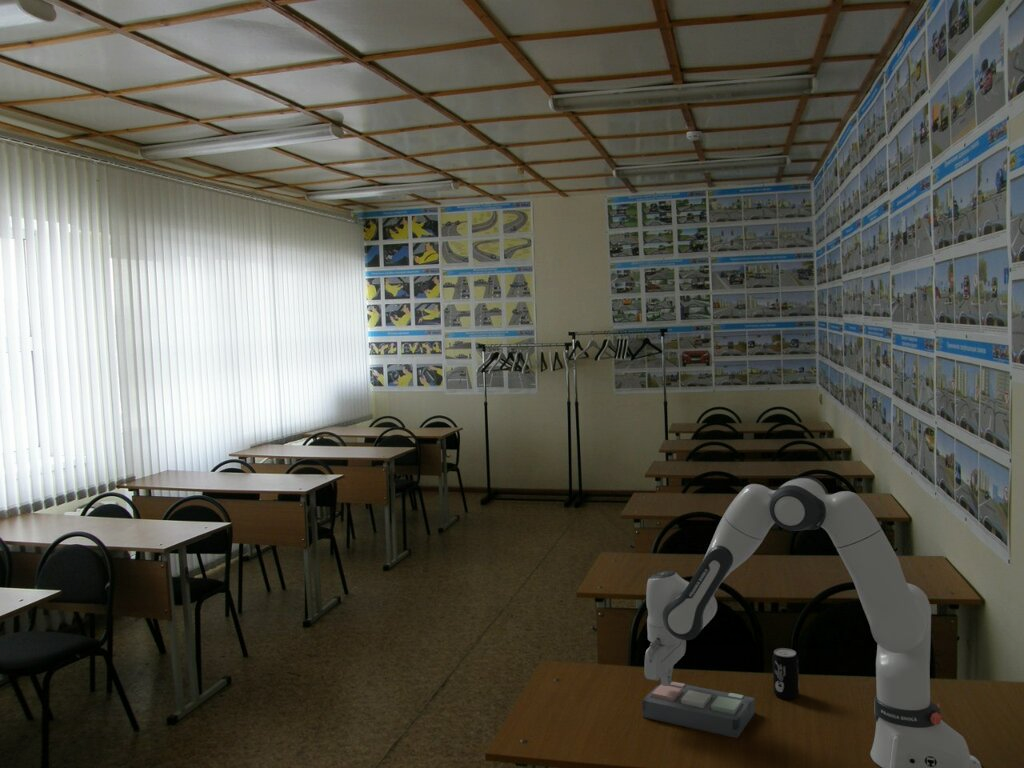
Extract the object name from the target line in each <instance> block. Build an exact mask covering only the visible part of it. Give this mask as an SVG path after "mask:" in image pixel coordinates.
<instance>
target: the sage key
mask: <svg viewBox="0 0 1024 768" xmlns="http://www.w3.org/2000/svg"><path fill="white" fill-rule="evenodd" d="M741 707H742V700H737V699H732V698H727V697H721V696H718V697H717V699H716V700H715V701H714V702H713V703H712V705H711V710H714V711H719V712H723V713H728V714H733V715H736V714H737V712H738V711H739V710H740V708H741Z"/></svg>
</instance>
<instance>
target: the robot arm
mask: <svg viewBox="0 0 1024 768" xmlns="http://www.w3.org/2000/svg"><path fill="white" fill-rule="evenodd" d="M774 525H777V526H779V527H780V528H782V529H783V530H787V531H793V532H797V531H806V530H809V531H811V530H819V529H820V528H822V529H823V530H824V531H826V533H827V534H828V536H829V538H830V539H831V541H832V544H833V545H834V547H835V548H836V552H837V553H838V554H839V557H840V558H841V560H842V562H843V564H844V566H845V568H846V570H847V572H848V573H849V576H850V577H851V580H852V581H853V584H854V586H855V589H856V591H857V592H856V593H857V595H858V598H859V600H860V603H861V606H862V609H863V611H864V614H865V616H866V619H867V621H868V624H869V627H870V632H871V635H872V638H873V639H874V641H875V642H876V644H877V646H876V648H877V649H876V657H875V675H876V676H875V678H876V679H875V680H876V681H875V683H876V694H875V696H874V701H873V705H874V707H873V709H874V718H875V722H876V723H875V731H874V732H875V733H874V737H873V738H874V739H873V743H872V746H871V747H872V748H871V750H870V757H871V759H872V761H873V762H874V763H875V764H876V765H878V766H879V767H881V768H982V764H981V763H980V760H979V759H977V757H975V756H974V755H971V754H970V749H969V745H968V743H967V741H966V739H965V738H964V737H963V735H961V734H960V733H959V732H957V731H956V730H955V729H954V728H952V727H951V726H950V725H948V724H947V723H946V722H944V721H943V720H942V715H941V713H942V711H941V705H940V703H939V702H937V704H935V703H934V702H933V701H931V684H930V683H931V681H930V679H931V678H930V677H931V676H930V674H931V673H930V669H931V668H930V666H931V665H930V663H931V643H932V642H931V639H932V637H931V631H932V629H931V628H932V609H931V604H930V601H929V599H928V595H927V594H926V593H925V592H924V591H923V590H922V588H920V587H918V586H917V585H915V584H912V583H908V582H907V581H906V577H905V575H904V572H903V569H902V567H901V566H902V565H901V563H900V560H899V557H898V556H897V553H896V552H895V551H894V548H893V547H892V545H891V542H890V541H889V540H888V537H887V536H886V534H885V532H884V530H883V529H882V527H881V525H880V523H879V521H878V519H877V518H876V517H875V514H873V512H872V511H871V509H870V508H869V507H868V505H867V504H866V502H865V501H863V499H862V498H861V497H860V496H859V494H857V493H855V492H852V491H847V490H846V491H843V490H842V491H838V492H836V493H833V494H829V493H828V490H827V488H826V487H825V485H824V484H823V483H822V482H821V481H820V480H818V479H816V478H814V477H811V476H798V477H795V478H793V479H790V480H788V481H786V482H785V483H783V484H781V485H779V486H778V487H777V488H776V489H774V490H773V489H770V488H769V487H767V486H766V485H762V484H758V483H750V484H748V485H746V486H744V487H743V488H742V490H741V491H739V493H737V495H736V496H735V498H734V499H733V500H732V502H731V503H730V504H729V506H728V507H727V509H726V510H725V512H724V514H723V516H722V518H721V519H720V521H719V523H718V524H717V527H716V530H714V531H715V532H714V534H713V536H712V539H711V541H710V544H709V546H708V548H707V551H706V553H705V555H704V558H703V559H702V562H701V563H700V565H699V566H698V568H697V570H696V572H694V575H693V577H692V578H691V580H690V581H688V580H685V579H684V578H683V577H681V576H680V575H679V574H678V573H677V572H675V571H673V570H662V571H659V572H656V573H653V574H652V575H650V577H649V578H648V579H647V583H646V595H645V596H646V599H645V600H646V601H645V603H646V608H647V614H648V615H647V619H646V629H647V640H648V641H649V642H650V644H649V647H648V648H647V649H646V651H645V655H644V671H643V672H644V677H645V679H647V680H651V681H654V682H655V681H659V680H660V683H661V685H663V686H667V685H668V684H669V683H670V682H672V675H673V671H674V666H675V664H677V663H678V661H680V660H681V659H682V657H683V656H685V653H686V650H687V641H690V640H694V639H695V638H697V636H699V634H700V633H701V631H702V630H703V629H704V627H706V626H707V625H708V624H709V623H710V621H711V620H712V619H713V618H714V617H716V613H717V612H718V601H717V598H716V597H715V593H716V591H718V589H719V587H720V585H721V584H722V583H723V581H724V580H725V579H726V578H727V577H728V576H729V575H730V574H731V573H732V572H733V571H735V570H736V569H737V568H738V567H740V566H741V565H742V564H744V563H745V562H746V561H747V560H748V559H749V558H750V557H751V556H752V555H753V554H754V553H755V552H756V551H757V549H758V548H759V547H760V546H761V544H762V543H763V541H764V540H765V538H766V536H767V534H768V533H769V531H770V530H771V528H772V527H773V526H774Z"/></svg>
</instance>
